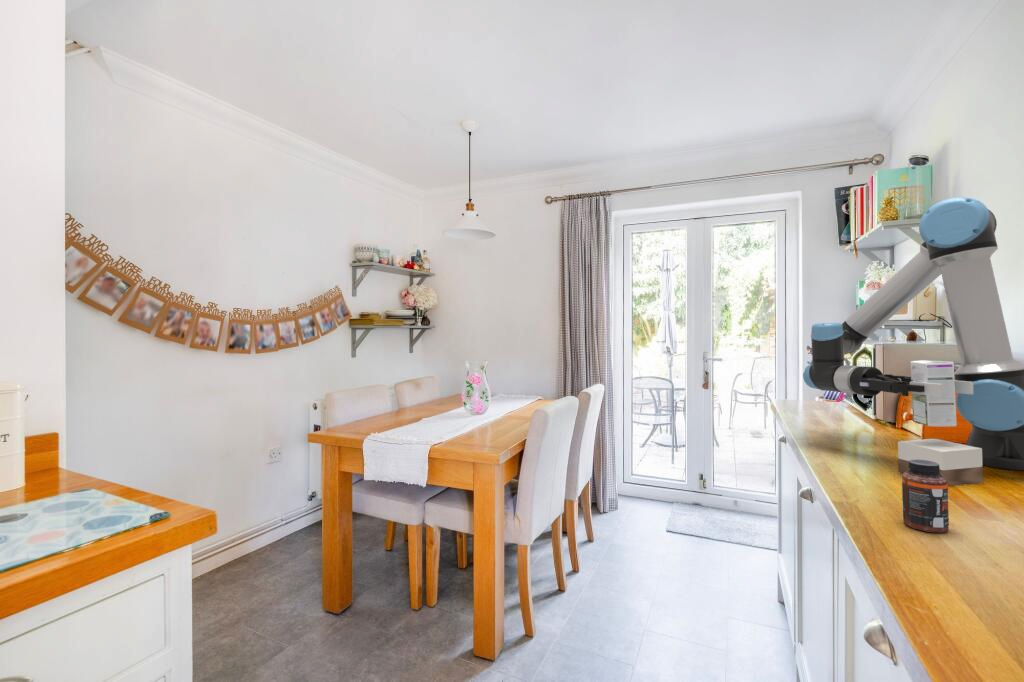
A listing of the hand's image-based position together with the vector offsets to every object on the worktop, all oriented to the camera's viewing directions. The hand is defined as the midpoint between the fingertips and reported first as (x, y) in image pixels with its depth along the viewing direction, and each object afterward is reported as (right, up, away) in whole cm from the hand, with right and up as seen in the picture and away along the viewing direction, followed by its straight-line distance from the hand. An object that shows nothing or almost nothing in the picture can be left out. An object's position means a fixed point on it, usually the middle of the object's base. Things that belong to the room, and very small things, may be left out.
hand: (957, 389), depth 101 cm
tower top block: (0, -17, +4) cm, 18 cm away
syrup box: (-1, -9, +5) cm, 10 cm away
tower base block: (0, -21, +5) cm, 22 cm away
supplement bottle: (-25, -22, -20) cm, 39 cm away
